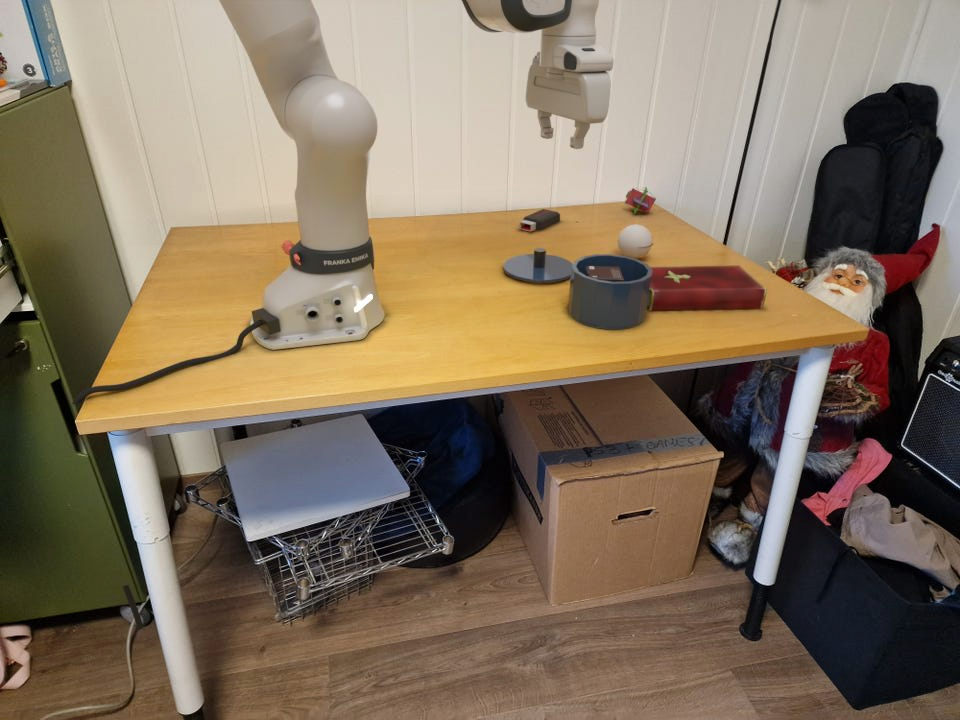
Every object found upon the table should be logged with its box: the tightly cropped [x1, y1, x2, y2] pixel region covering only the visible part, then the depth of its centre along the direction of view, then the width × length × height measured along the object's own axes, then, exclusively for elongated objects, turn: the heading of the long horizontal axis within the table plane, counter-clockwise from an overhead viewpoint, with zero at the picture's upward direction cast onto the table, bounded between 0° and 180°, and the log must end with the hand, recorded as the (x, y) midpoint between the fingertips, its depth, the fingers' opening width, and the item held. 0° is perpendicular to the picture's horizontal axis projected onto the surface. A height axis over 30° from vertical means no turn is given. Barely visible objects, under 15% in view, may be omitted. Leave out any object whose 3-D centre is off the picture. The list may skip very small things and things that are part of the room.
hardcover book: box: [647, 264, 768, 312], centre depth 121 cm, size 12×21×4 cm, turn 94°
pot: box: [567, 253, 653, 331], centre depth 114 cm, size 14×14×8 cm
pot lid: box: [502, 247, 574, 284], centre depth 131 cm, size 15×15×5 cm
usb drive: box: [519, 208, 561, 233], centre depth 158 cm, size 5×12×3 cm, turn 144°
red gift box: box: [624, 186, 657, 216], centre depth 167 cm, size 7×7×8 cm
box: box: [585, 266, 624, 282], centre depth 113 cm, size 6×6×7 cm
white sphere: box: [616, 223, 655, 260], centre depth 139 cm, size 10×7×7 cm
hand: (561, 142), depth 112 cm, fingers open, 8 cm apart
